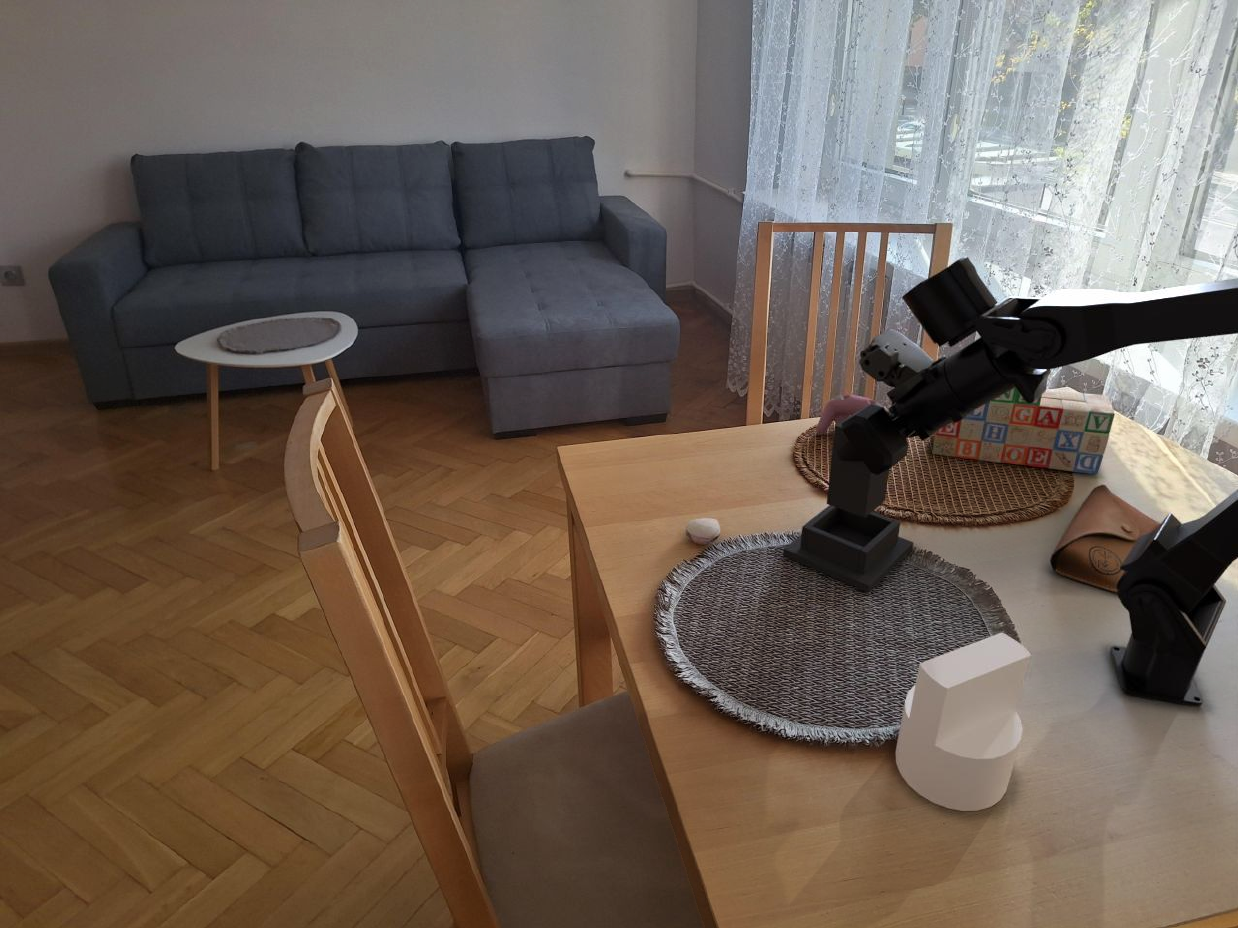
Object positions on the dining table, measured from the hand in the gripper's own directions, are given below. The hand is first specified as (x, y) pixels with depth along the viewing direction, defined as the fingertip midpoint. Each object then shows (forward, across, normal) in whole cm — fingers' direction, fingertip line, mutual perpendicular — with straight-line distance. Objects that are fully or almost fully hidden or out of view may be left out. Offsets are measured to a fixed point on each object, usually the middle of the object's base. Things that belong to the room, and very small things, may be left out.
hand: (851, 448), depth 93 cm
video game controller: (+19, -27, 0) cm, 33 cm away
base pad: (+9, 0, +10) cm, 13 cm away
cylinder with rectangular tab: (-7, +23, +26) cm, 35 cm away
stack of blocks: (+5, -36, +14) cm, 39 cm away
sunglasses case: (-7, -20, +26) cm, 34 cm away
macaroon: (+19, +9, 0) cm, 21 cm away
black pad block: (+4, 0, +6) cm, 7 cm away
